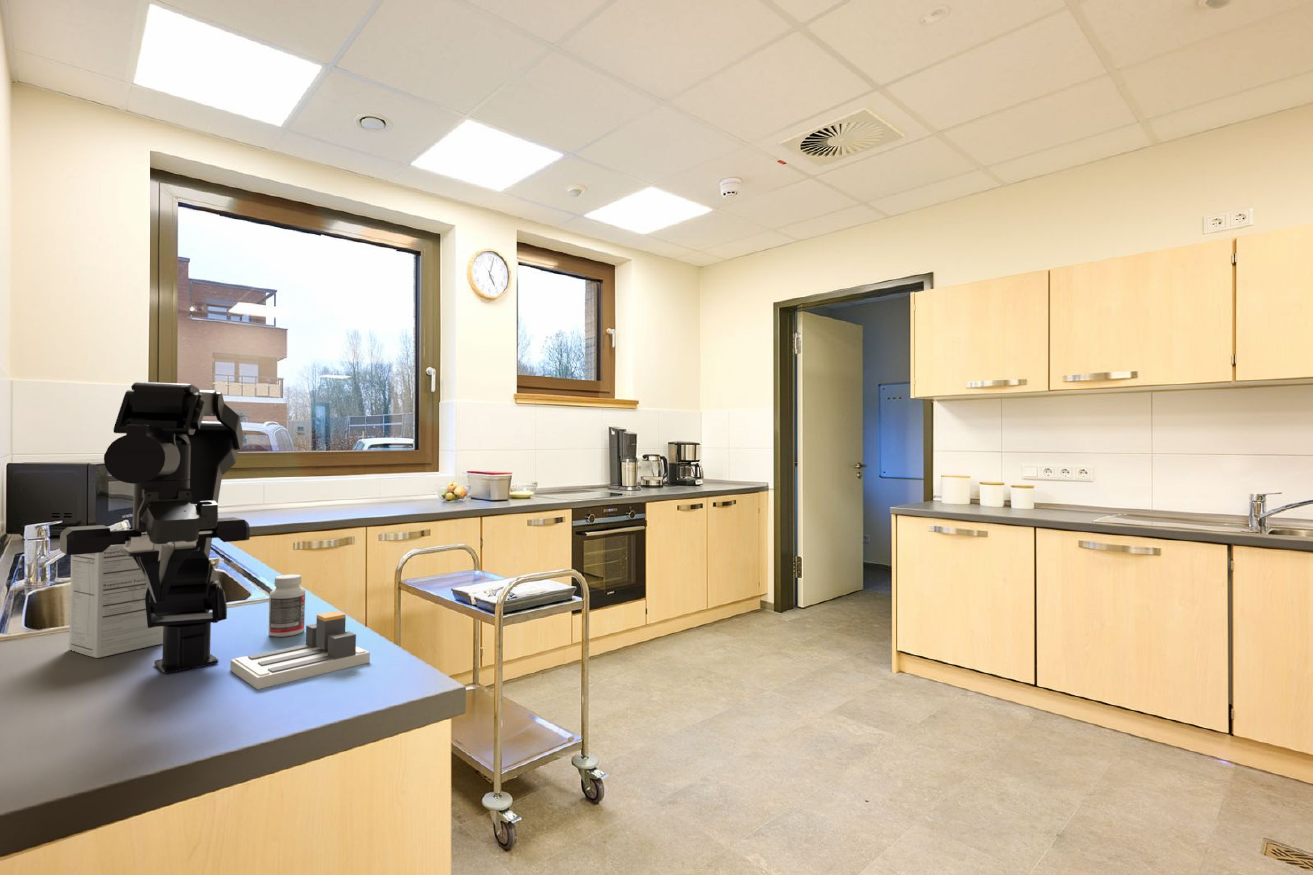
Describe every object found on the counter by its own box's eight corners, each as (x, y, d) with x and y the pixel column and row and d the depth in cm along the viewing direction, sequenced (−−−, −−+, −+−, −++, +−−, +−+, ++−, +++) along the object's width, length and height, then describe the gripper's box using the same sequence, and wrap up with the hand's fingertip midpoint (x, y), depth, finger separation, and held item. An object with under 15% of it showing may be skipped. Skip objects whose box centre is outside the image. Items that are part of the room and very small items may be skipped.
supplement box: (166, 643, 105) (168, 539, 106) (96, 659, 97) (99, 546, 98) (135, 635, 110) (138, 535, 110) (66, 650, 102) (69, 542, 102)
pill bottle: (309, 633, 112) (310, 576, 113) (274, 639, 108) (276, 580, 109) (297, 627, 116) (298, 572, 116) (263, 633, 112) (265, 576, 112)
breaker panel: (230, 670, 93) (231, 638, 93) (337, 647, 105) (338, 619, 105) (257, 689, 86) (258, 654, 86) (369, 662, 97) (370, 632, 97)
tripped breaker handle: (315, 645, 98) (316, 614, 98) (336, 641, 100) (337, 611, 101) (324, 650, 96) (325, 618, 96) (345, 645, 98) (345, 614, 99)
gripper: (76, 484, 71) (72, 628, 71) (265, 480, 85) (262, 600, 85) (61, 481, 79) (57, 611, 78) (237, 477, 93) (234, 587, 92)
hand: (159, 602), depth 83 cm, fingers closed
